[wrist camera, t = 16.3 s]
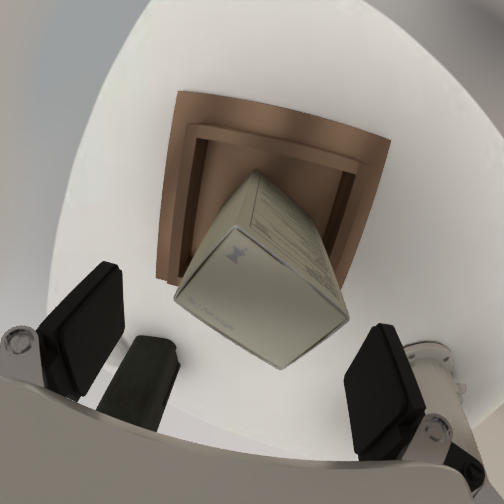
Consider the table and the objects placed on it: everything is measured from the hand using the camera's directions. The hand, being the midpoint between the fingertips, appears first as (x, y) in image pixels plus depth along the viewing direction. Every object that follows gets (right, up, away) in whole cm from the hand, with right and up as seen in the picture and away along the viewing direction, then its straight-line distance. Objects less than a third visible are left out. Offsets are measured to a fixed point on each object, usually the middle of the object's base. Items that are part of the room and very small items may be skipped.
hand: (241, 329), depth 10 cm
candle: (-10, -9, +21) cm, 25 cm away
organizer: (+1, +6, +13) cm, 14 cm away
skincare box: (+2, +6, +12) cm, 14 cm away
